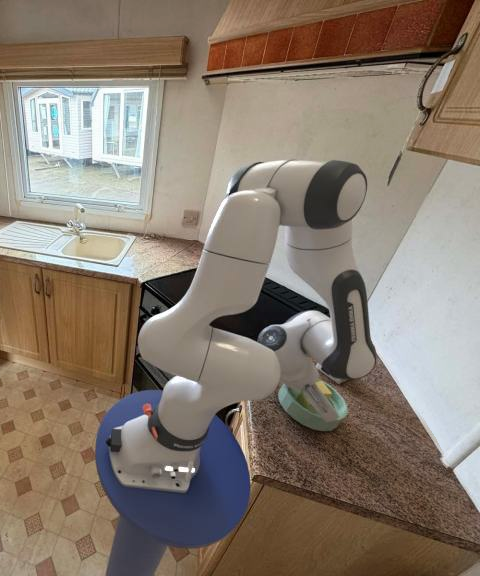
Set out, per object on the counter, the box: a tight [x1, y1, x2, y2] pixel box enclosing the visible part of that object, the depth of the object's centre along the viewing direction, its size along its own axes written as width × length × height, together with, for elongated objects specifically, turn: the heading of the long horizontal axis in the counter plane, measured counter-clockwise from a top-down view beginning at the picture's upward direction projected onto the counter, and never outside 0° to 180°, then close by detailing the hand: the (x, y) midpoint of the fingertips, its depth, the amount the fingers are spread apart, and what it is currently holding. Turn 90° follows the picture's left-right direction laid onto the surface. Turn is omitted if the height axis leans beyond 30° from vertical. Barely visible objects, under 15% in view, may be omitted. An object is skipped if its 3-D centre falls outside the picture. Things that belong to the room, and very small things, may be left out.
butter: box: [296, 380, 332, 413], centre depth 86 cm, size 4×4×8 cm
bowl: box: [277, 378, 349, 432], centre depth 86 cm, size 15×15×6 cm
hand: (315, 396), depth 86 cm, fingers closed on butter, 4 cm apart
